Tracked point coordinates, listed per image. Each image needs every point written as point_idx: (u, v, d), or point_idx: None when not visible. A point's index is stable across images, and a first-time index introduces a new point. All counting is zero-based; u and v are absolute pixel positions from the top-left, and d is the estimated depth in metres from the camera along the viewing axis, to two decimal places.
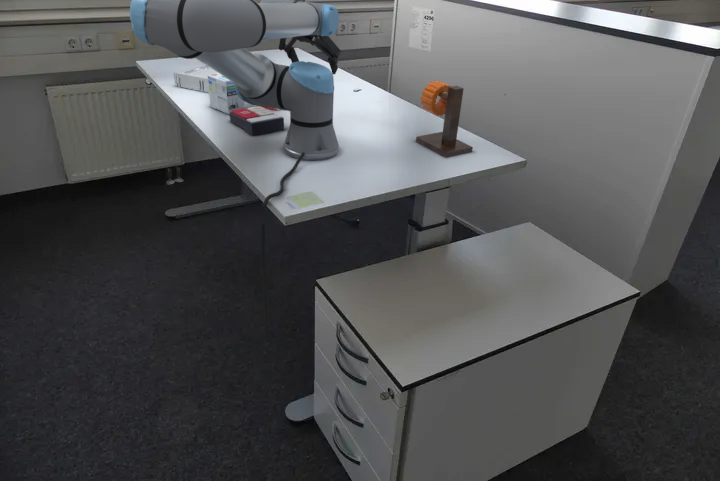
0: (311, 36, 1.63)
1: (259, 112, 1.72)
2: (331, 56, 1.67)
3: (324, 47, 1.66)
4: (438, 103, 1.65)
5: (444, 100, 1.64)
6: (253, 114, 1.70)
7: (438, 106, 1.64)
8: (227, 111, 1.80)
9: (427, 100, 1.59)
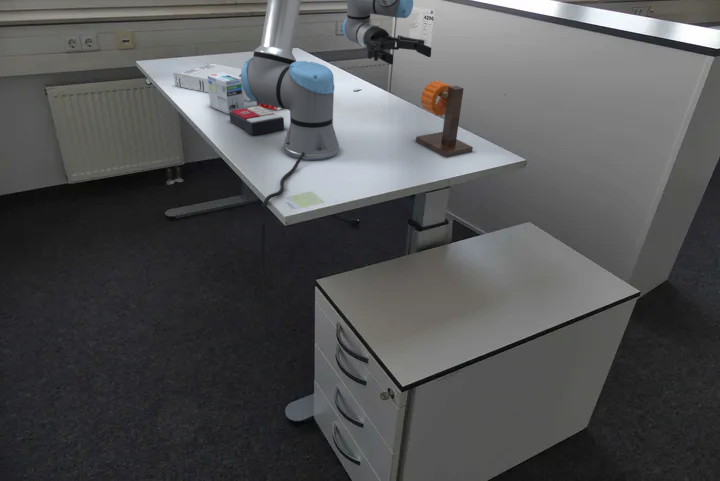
0: None
1: (259, 112, 1.72)
2: (418, 41, 1.72)
3: None
4: (438, 103, 1.65)
5: (444, 100, 1.64)
6: (253, 114, 1.70)
7: (438, 106, 1.64)
8: (227, 111, 1.80)
9: (427, 100, 1.59)
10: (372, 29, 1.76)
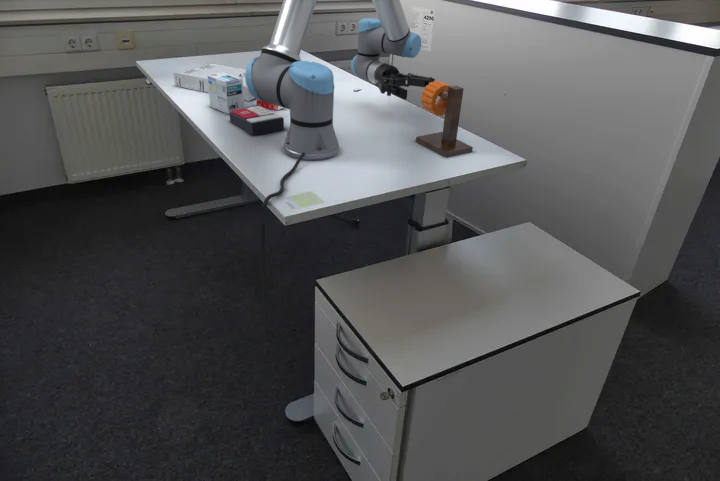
0: None
1: (259, 112, 1.72)
2: (429, 79, 1.76)
3: None
4: (438, 103, 1.65)
5: (444, 100, 1.64)
6: (253, 114, 1.70)
7: (438, 106, 1.64)
8: (227, 111, 1.80)
9: (427, 100, 1.59)
10: (383, 66, 1.78)
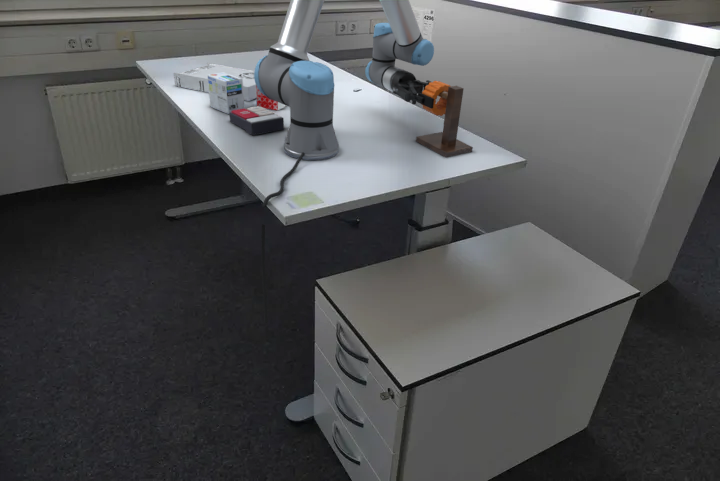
0: None
1: (259, 112, 1.72)
2: None
3: None
4: (438, 103, 1.65)
5: (444, 100, 1.64)
6: (253, 114, 1.70)
7: (438, 106, 1.64)
8: (227, 111, 1.80)
9: None
10: (399, 72, 1.72)
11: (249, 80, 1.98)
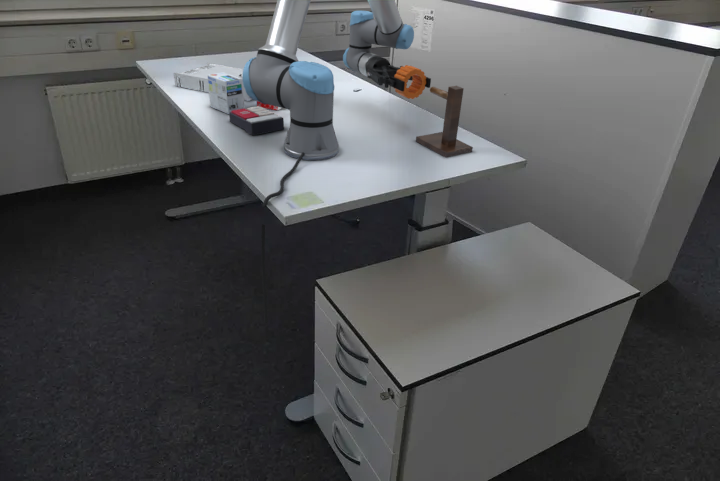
0: None
1: (259, 112, 1.72)
2: None
3: None
4: (410, 87, 1.72)
5: (416, 84, 1.71)
6: (253, 114, 1.70)
7: (410, 90, 1.71)
8: (227, 111, 1.80)
9: None
10: (374, 58, 1.79)
11: None
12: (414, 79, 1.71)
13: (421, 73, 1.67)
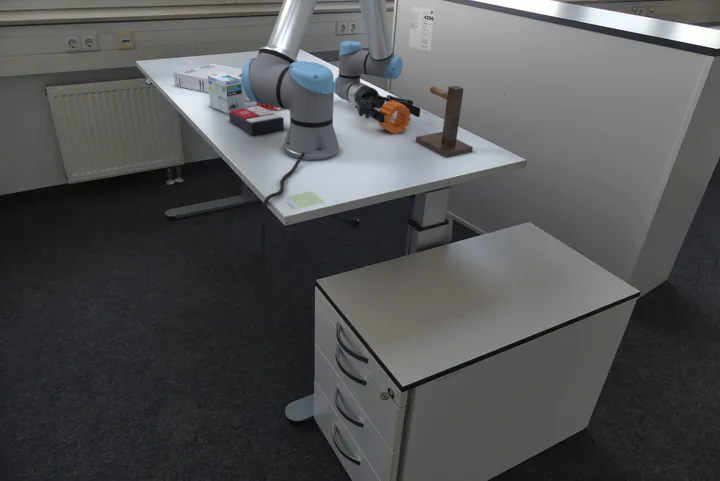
0: None
1: (259, 112, 1.72)
2: (407, 101, 1.79)
3: None
4: (396, 119, 1.76)
5: (401, 116, 1.74)
6: (253, 114, 1.70)
7: (396, 123, 1.75)
8: (227, 111, 1.80)
9: (383, 123, 1.70)
10: (363, 88, 1.82)
11: None
12: (398, 111, 1.74)
13: (403, 107, 1.70)
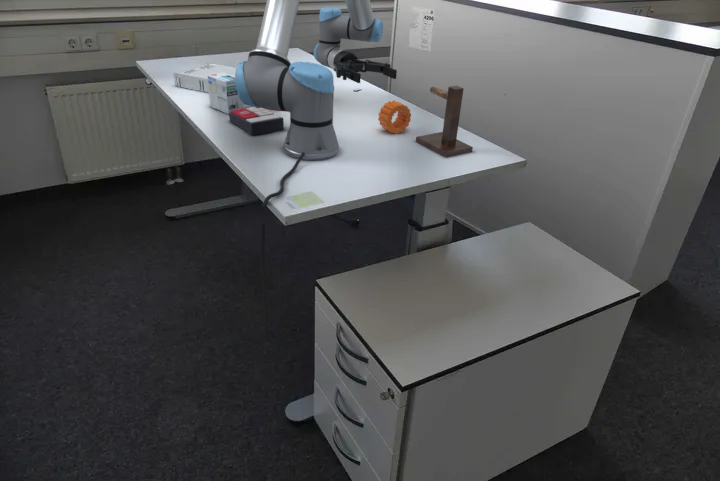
0: None
1: (258, 112, 1.72)
2: (384, 65, 1.84)
3: None
4: (396, 120, 1.76)
5: (401, 117, 1.74)
6: (253, 114, 1.70)
7: (396, 123, 1.75)
8: (227, 111, 1.80)
9: (384, 122, 1.70)
10: (341, 52, 1.87)
11: None
12: (399, 112, 1.74)
13: (404, 107, 1.70)
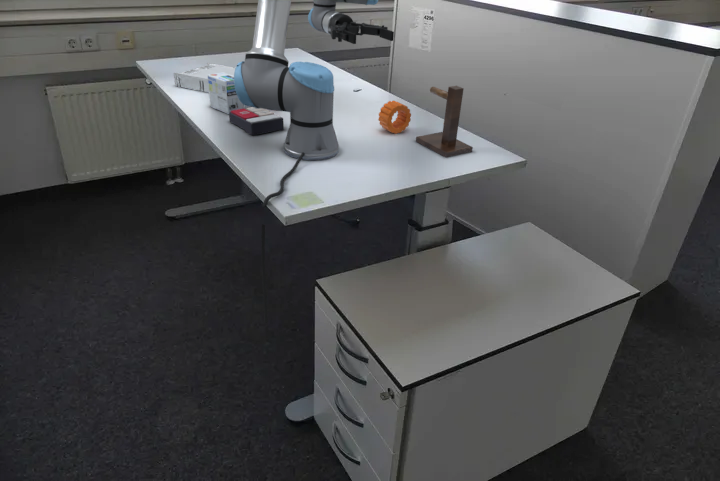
0: None
1: (258, 112, 1.72)
2: (381, 27, 1.77)
3: None
4: (396, 120, 1.76)
5: (401, 117, 1.74)
6: (252, 114, 1.70)
7: (396, 123, 1.75)
8: (227, 111, 1.80)
9: (384, 122, 1.70)
10: (337, 15, 1.80)
11: None
12: (399, 112, 1.74)
13: (404, 107, 1.70)
